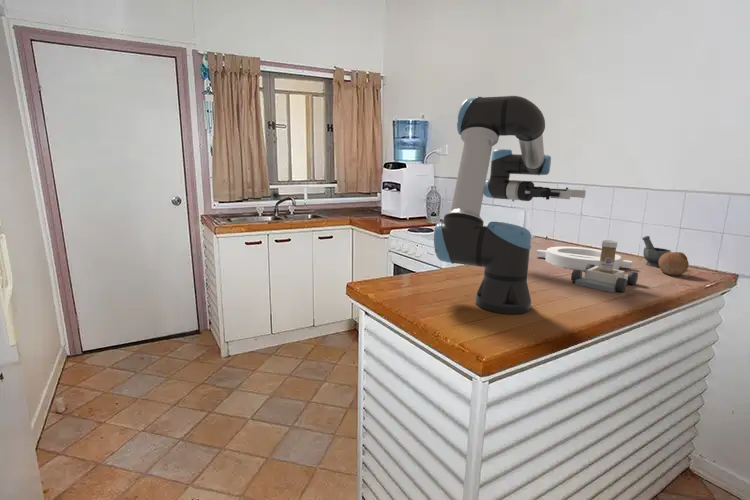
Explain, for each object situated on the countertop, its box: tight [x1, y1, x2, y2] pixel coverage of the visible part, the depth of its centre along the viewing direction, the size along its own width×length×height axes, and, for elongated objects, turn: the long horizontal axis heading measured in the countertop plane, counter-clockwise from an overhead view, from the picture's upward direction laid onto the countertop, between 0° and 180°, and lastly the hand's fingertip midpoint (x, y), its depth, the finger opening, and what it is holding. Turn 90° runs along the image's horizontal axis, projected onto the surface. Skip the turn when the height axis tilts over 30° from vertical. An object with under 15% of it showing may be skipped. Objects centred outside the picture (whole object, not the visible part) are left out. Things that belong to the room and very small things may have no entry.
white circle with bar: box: [535, 246, 633, 272], centre depth 175 cm, size 28×28×5 cm
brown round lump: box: [658, 251, 690, 277], centre depth 160 cm, size 10×9×10 cm
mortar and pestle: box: [641, 235, 672, 268], centre depth 175 cm, size 11×9×12 cm
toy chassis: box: [570, 264, 639, 293], centre depth 145 cm, size 20×16×4 cm
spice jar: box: [599, 239, 618, 274], centre depth 144 cm, size 5×5×14 cm
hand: (577, 194), depth 147 cm, fingers open, 13 cm apart
